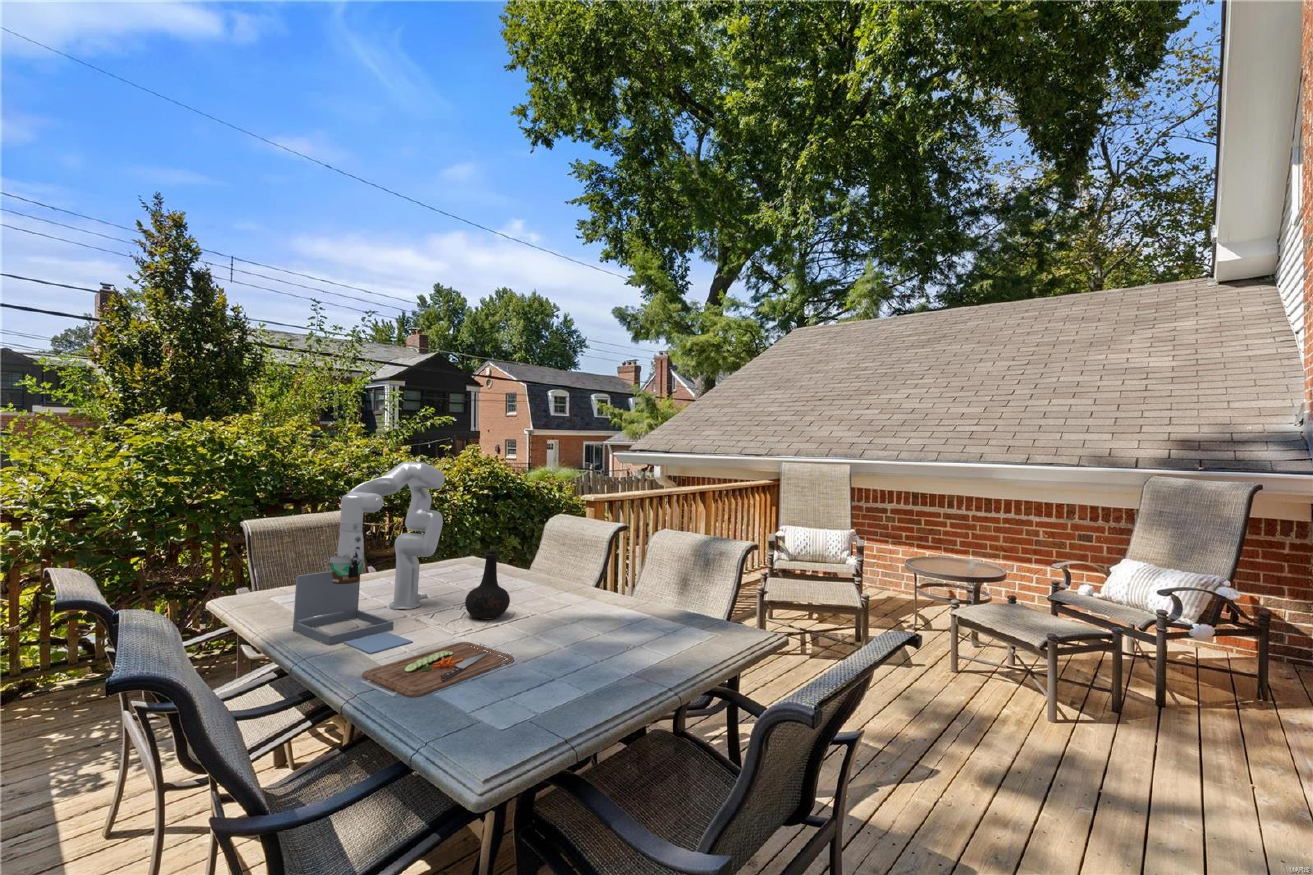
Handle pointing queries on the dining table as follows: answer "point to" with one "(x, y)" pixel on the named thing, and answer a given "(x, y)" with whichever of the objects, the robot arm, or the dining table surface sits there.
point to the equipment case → (331, 608)
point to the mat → (378, 642)
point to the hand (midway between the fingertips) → (348, 575)
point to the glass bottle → (488, 592)
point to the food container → (343, 570)
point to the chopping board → (435, 669)
